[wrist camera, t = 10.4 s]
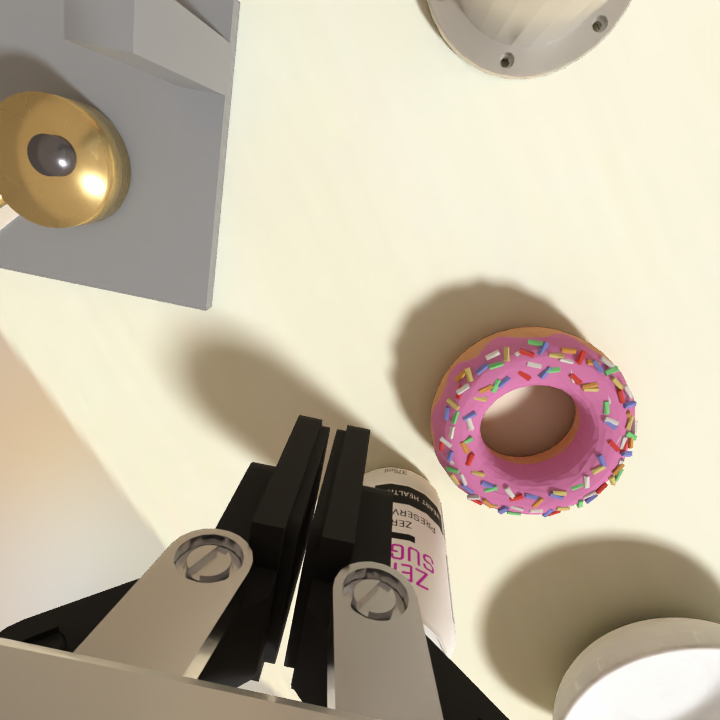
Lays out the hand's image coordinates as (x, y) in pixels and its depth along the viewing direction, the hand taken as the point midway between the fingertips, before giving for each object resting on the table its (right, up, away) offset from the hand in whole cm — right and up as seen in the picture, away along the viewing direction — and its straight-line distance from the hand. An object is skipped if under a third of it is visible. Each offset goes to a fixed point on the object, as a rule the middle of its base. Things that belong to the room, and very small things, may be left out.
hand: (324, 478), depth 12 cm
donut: (+13, -1, +28) cm, 31 cm away
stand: (-16, +18, +24) cm, 34 cm away
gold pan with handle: (-23, +15, +24) cm, 36 cm away
